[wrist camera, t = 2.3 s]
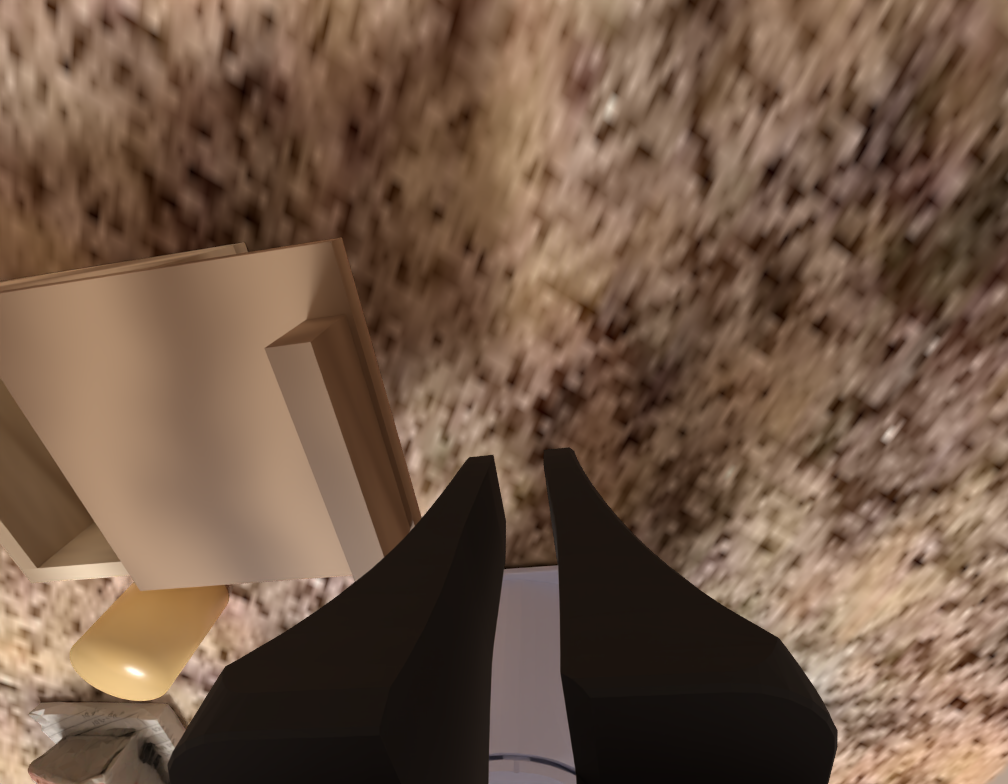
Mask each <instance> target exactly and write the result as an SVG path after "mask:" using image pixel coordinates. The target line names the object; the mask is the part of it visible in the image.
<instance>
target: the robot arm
mask: <svg viewBox="0 0 1008 784" xmlns="http://www.w3.org/2000/svg"><path fill="white" fill-rule="evenodd" d="M544 471H545V478H546V485H547V492H548V500H549V507H550V514H551V521H552V529H553V536H554V543H555V550H556V557H557V562H558V565H555V566H541V567H527V568H513V569H504V565H505V554H506V519H505V514H504V509H503V503H502V498H501V493H500V487H499V482H498V477H497V472H496V466H495V461H494V456H493V455H488V456H478V457H469V458H468V459H467V460H466V462H465V463H464V464H463V466H462V467H461V468H460V470H459V471H458V472H457V474H456V475H455V477H454V478H453V479H452V481H451V482H450V483H449V485H448V486H447V487H446V489H445V490H444V491H443V493H442V494H441V495H440V496H439V498H438V499H437V500H436V501H435V503H434V504H433V505H432V507H431V508H430V509H429V510H428V511H427V513H426V514H425V515H424V516H423V517H422V518H421V520H420V521H419V522H418V523H417V524H416V525H415V526H414V527H413V529H412V530H411V531H410V532H409V533H408V534H407V535H406V536H405V538H404V539H403V540H402V541H401V542H400V543H399V544H398V545H397V546H396V547H395V548H394V549H392V550H391V551H390V552H389V553H388V554H387V555H386V556H385V557H384V558H383V559H382V560H381V561H380V562H378V563H377V564H376V565H375V566H374V567H373V568H372V569H370V570H369V571H368V572H367V573H366V574H364V575H363V576H362V577H361V578H359V579H358V580H357V581H356V582H354V583H353V584H352V585H351V586H349V587H348V588H347V589H346V590H344V591H343V592H342V593H341V594H339V595H338V596H337V597H335V598H334V599H333V600H331V601H330V602H329V603H327V604H326V605H324V606H323V607H322V608H320V609H319V610H317V611H316V612H314V613H313V614H311V615H310V616H308V617H307V618H305V619H304V620H302V621H301V622H299V623H298V624H296V625H295V626H293V627H292V628H290V629H289V630H287V631H286V632H284V633H282V634H281V635H279V636H277V637H276V638H274V639H272V640H271V641H269V642H267V643H266V644H264V645H262V646H260V647H259V648H257V649H255V650H254V651H252V652H250V653H248V654H247V655H245V656H243V657H242V658H240V659H238V660H236V661H235V662H233V663H231V664H229V665H227V666H225V668H224V669H223V671H222V672H221V674H220V675H219V677H218V679H217V680H216V682H215V683H214V685H213V687H212V688H211V690H210V691H209V693H208V695H207V696H206V698H205V700H204V701H203V703H202V704H201V706H200V708H199V709H198V711H197V713H196V714H195V716H194V718H193V719H192V721H191V722H190V724H189V726H188V727H187V729H186V731H185V732H184V734H183V736H182V737H181V739H180V740H179V742H178V744H177V745H176V747H175V749H174V750H173V752H172V754H171V757H170V759H169V761H168V764H167V767H168V775H169V781H170V784H828V782H829V778H830V774H831V770H832V766H833V762H834V758H835V754H836V750H837V729H836V727H835V725H834V723H833V721H832V719H831V717H830V714H829V712H828V710H827V708H826V706H825V704H824V702H823V701H822V699H821V697H820V696H819V694H818V692H817V691H816V689H815V688H814V686H813V685H812V683H811V682H810V680H809V679H808V677H807V676H806V674H805V673H804V671H803V670H802V669H801V667H800V666H799V664H798V663H797V662H796V660H795V659H794V657H793V656H792V655H791V653H790V652H789V651H788V649H787V648H786V647H785V645H784V644H783V643H782V641H781V640H780V639H779V638H778V637H776V636H774V635H773V634H771V633H769V632H767V631H766V630H764V629H762V628H760V627H759V626H757V625H755V624H754V623H752V622H750V621H748V620H747V619H745V618H743V617H741V616H740V615H738V614H736V613H735V612H733V611H731V610H729V609H728V608H726V607H724V606H723V605H721V604H720V603H718V602H717V601H715V600H714V599H712V598H711V597H709V596H708V595H706V594H705V593H703V592H702V591H701V590H699V589H698V588H697V587H695V586H694V585H693V584H691V583H690V582H689V581H688V580H686V579H685V578H684V577H682V576H681V575H680V574H678V573H677V572H676V571H675V570H673V569H672V568H671V567H669V566H668V565H667V564H666V563H664V562H663V561H662V560H661V559H660V558H659V557H658V556H656V555H655V554H654V553H653V552H652V551H651V550H650V549H649V548H647V547H646V546H645V545H644V544H643V543H642V542H641V541H640V540H639V539H638V538H637V537H636V536H635V535H634V534H633V533H632V532H631V531H630V530H629V529H628V528H627V527H626V525H625V524H624V523H623V522H622V521H621V520H620V519H619V518H618V517H617V515H616V514H615V513H614V512H613V511H612V510H611V508H610V507H609V506H608V505H607V503H606V502H605V501H604V500H603V498H602V497H601V496H600V494H599V493H598V491H597V490H596V489H595V487H594V486H593V485H592V483H591V482H590V480H589V479H588V477H587V475H586V474H585V472H584V471H583V469H582V467H581V465H580V464H579V462H578V460H577V457H576V455H575V452H574V451H573V450H572V449H571V448H570V447H568V448H558V449H548V450H544Z"/></svg>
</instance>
